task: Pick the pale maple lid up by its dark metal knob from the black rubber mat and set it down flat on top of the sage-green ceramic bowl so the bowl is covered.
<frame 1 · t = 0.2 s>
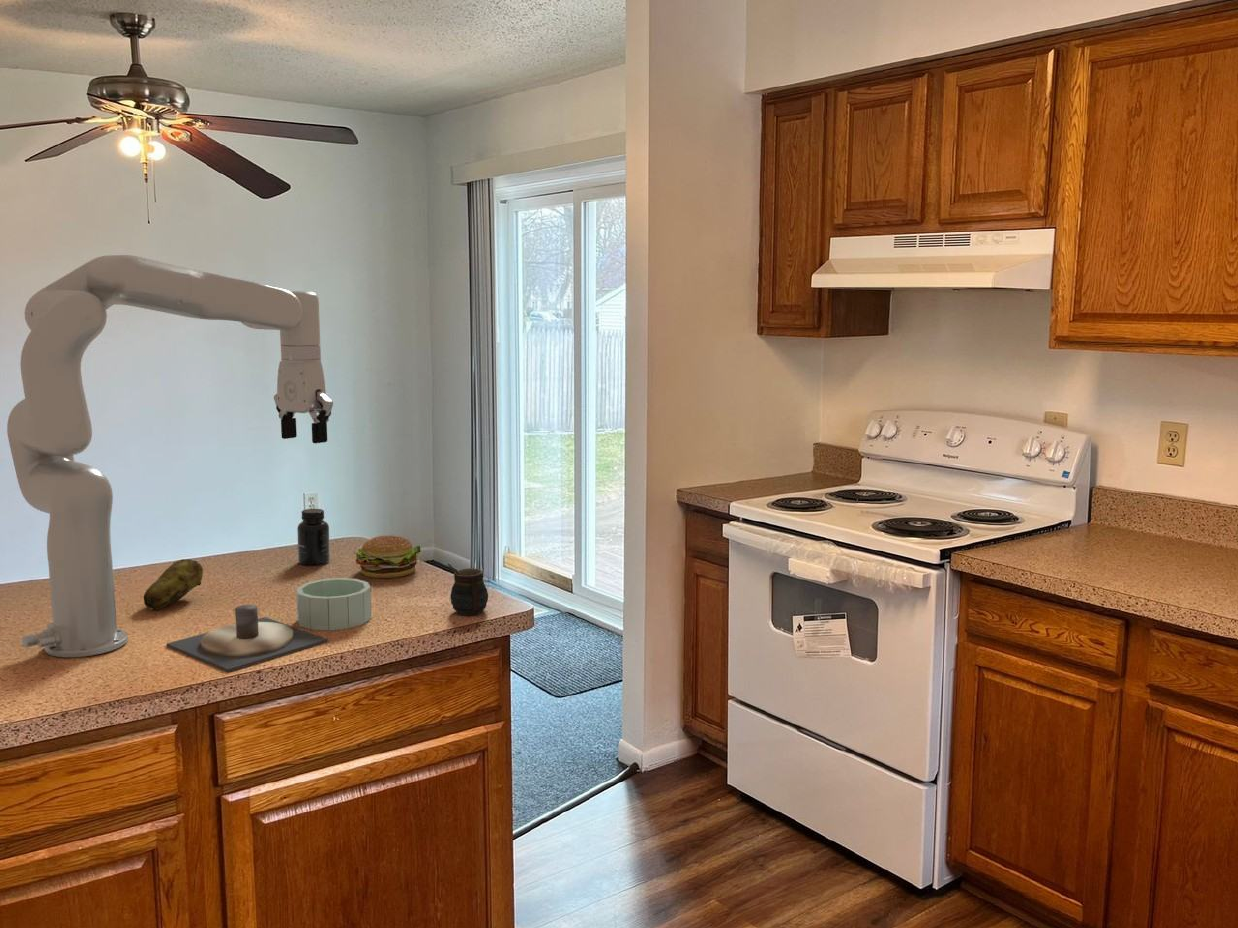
hand: (304, 440, 203), 31 cm above the worktop, tool pointing down, fingers open, 9 cm apart
mat: (248, 643, 176), on the worktop
lid: (247, 624, 175), on the mat
supplement bottle: (314, 563, 229), on the worktop
potato: (173, 604, 198), on the worktop
mate gourd: (468, 613, 195), on the worktop
bowl: (334, 618, 190), on the worktop
food: (387, 573, 222), on the worktop
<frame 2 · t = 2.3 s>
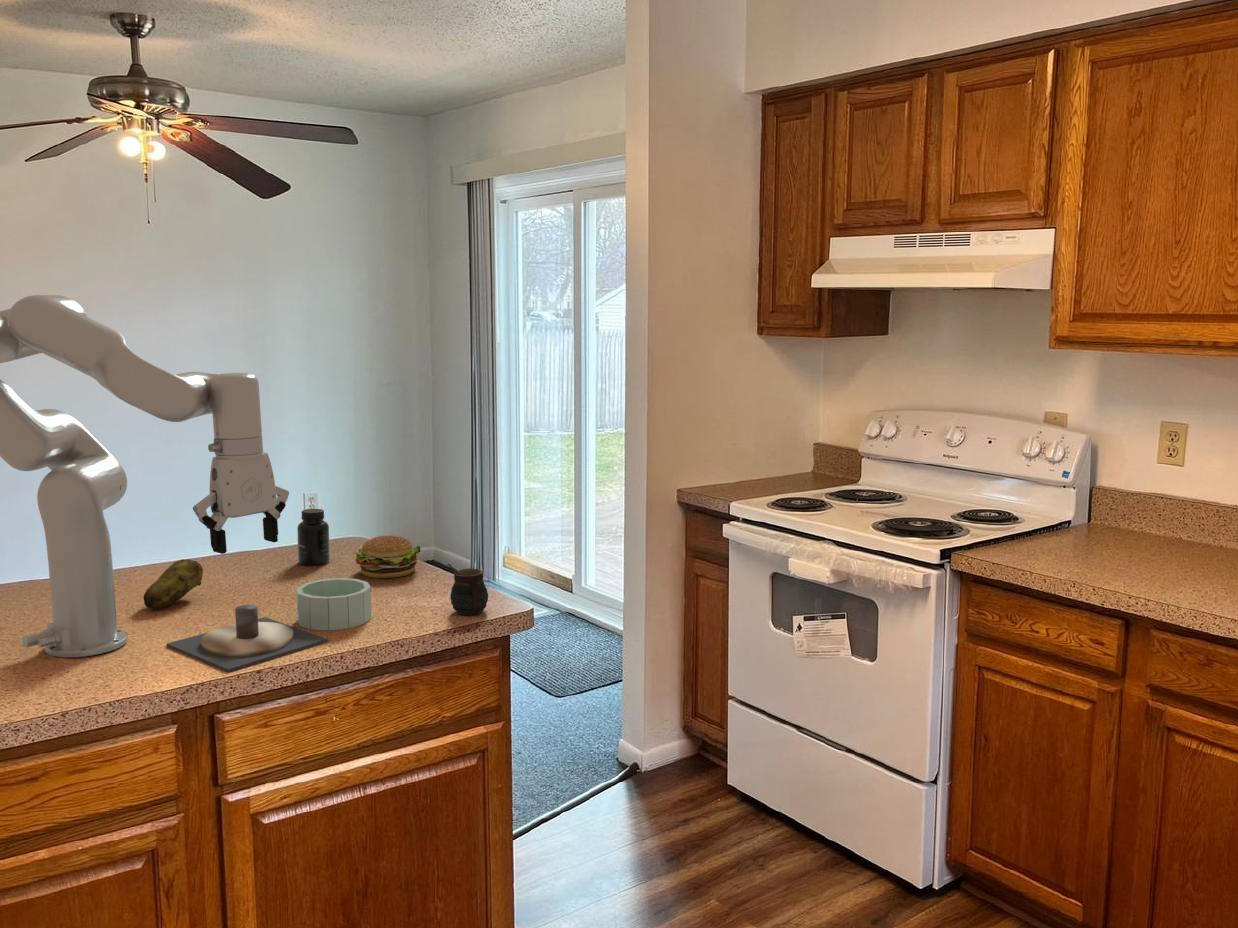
hand: (245, 546, 173), 17 cm above the worktop, tool pointing down, fingers open, 9 cm apart
nothing on the worktop moved.
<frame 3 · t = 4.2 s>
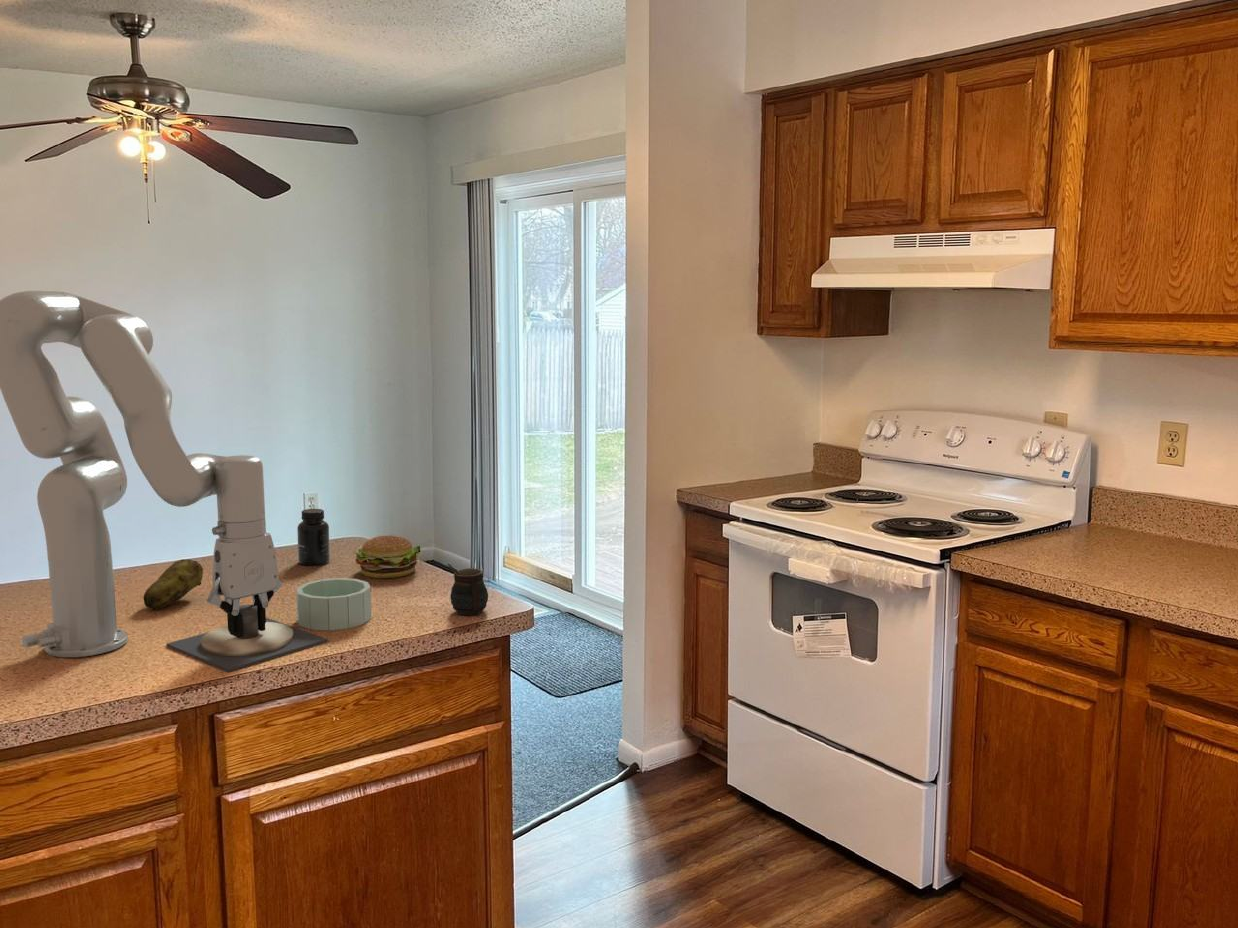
hand: (247, 631, 175), 2 cm above the worktop, tool pointing down, fingers closed on lid, 3 cm apart
lid: (247, 624, 175), on the mat, touching gripper
everything else where it was.
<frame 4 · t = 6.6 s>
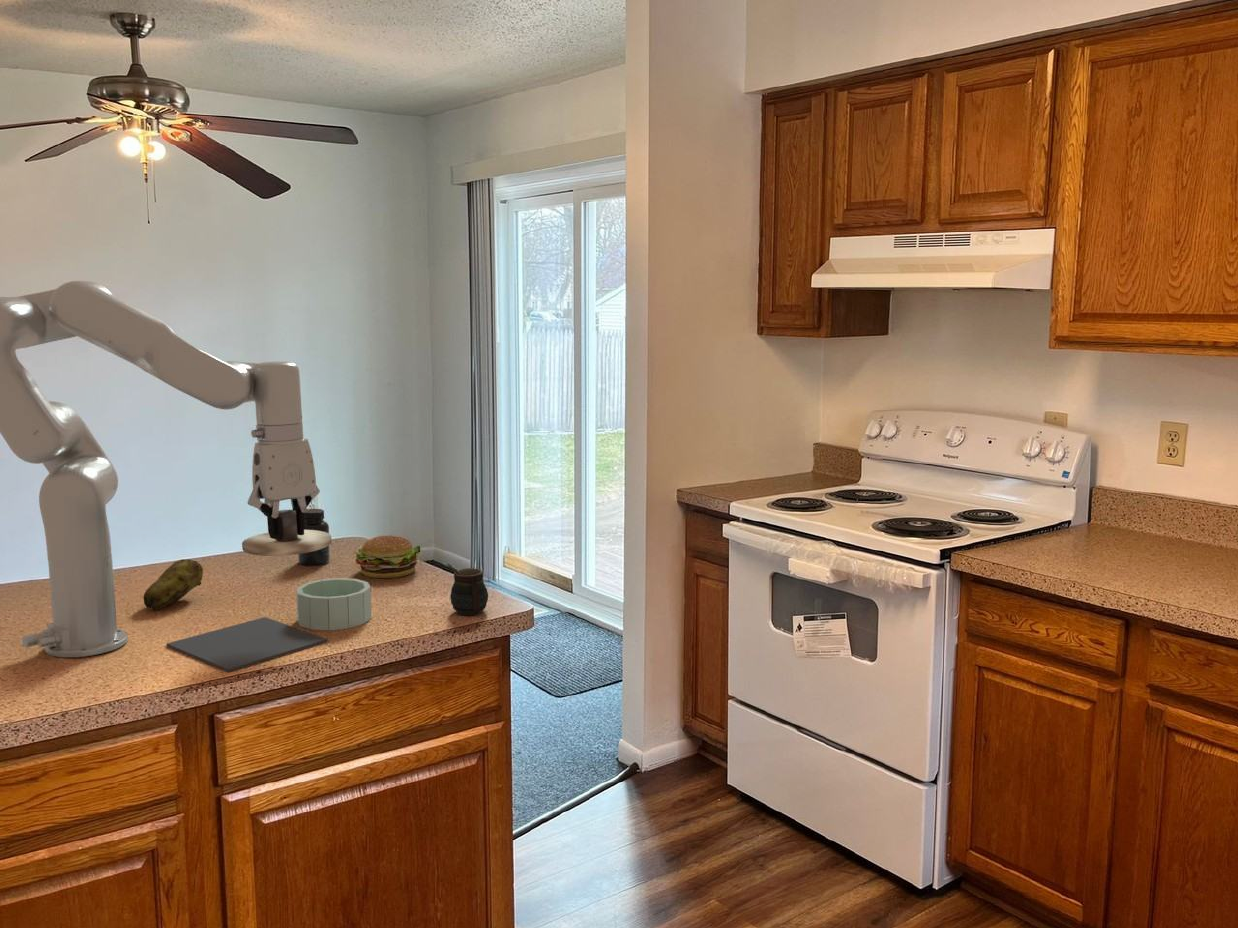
hand: (287, 535, 179), 18 cm above the worktop, tool pointing down, fingers closed on lid, 3 cm apart
lid: (286, 528, 179), point 19 cm above the worktop, touching gripper
everything else where it was.
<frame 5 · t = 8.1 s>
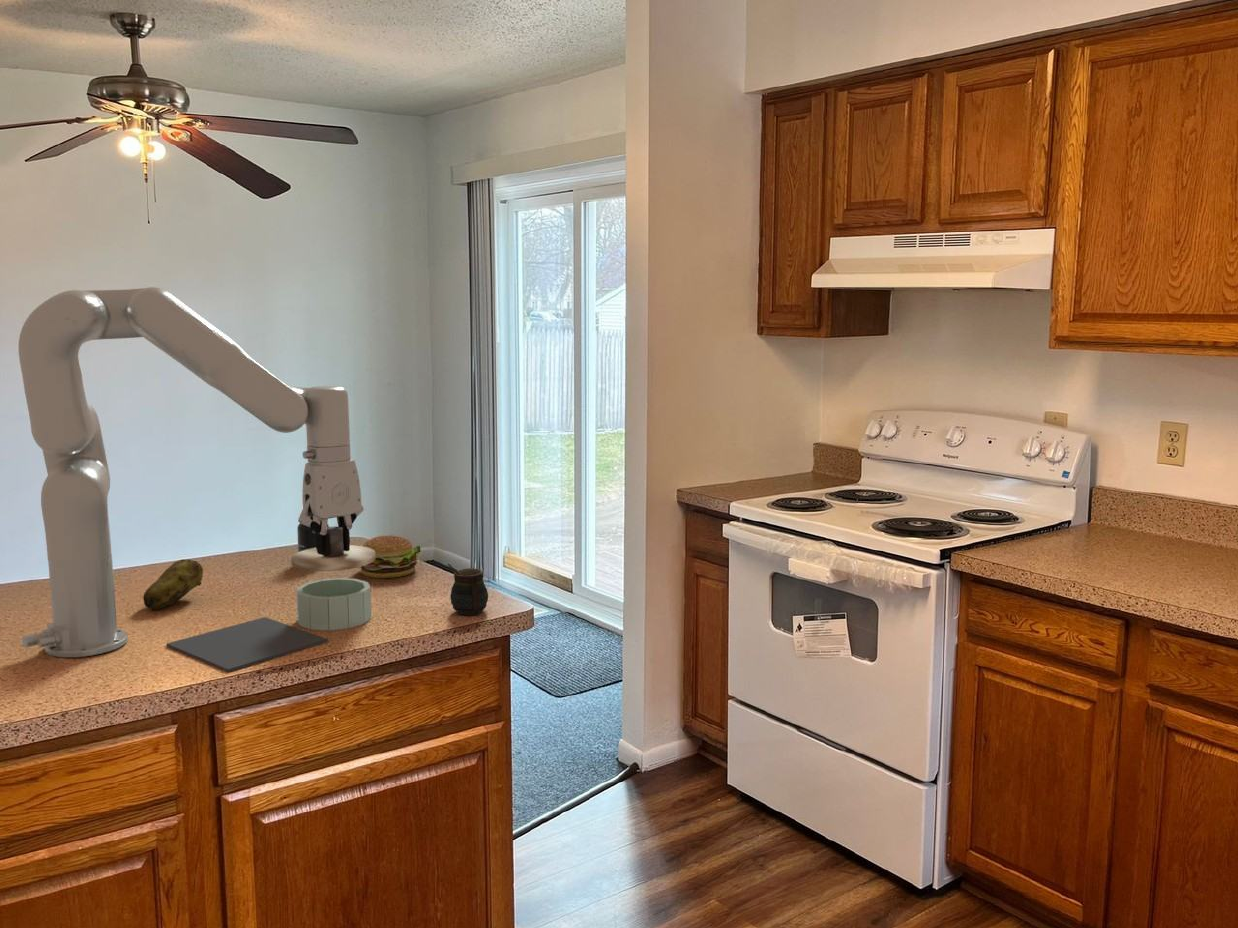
hand: (333, 551, 188), 13 cm above the worktop, tool pointing down, fingers closed on lid, 3 cm apart
lid: (333, 544, 187), point 14 cm above the worktop, touching gripper
everything else where it was.
when the fingers open (9 cm above the worktop, at t = 9.1 s): lid stays where it is, resting on bowl.
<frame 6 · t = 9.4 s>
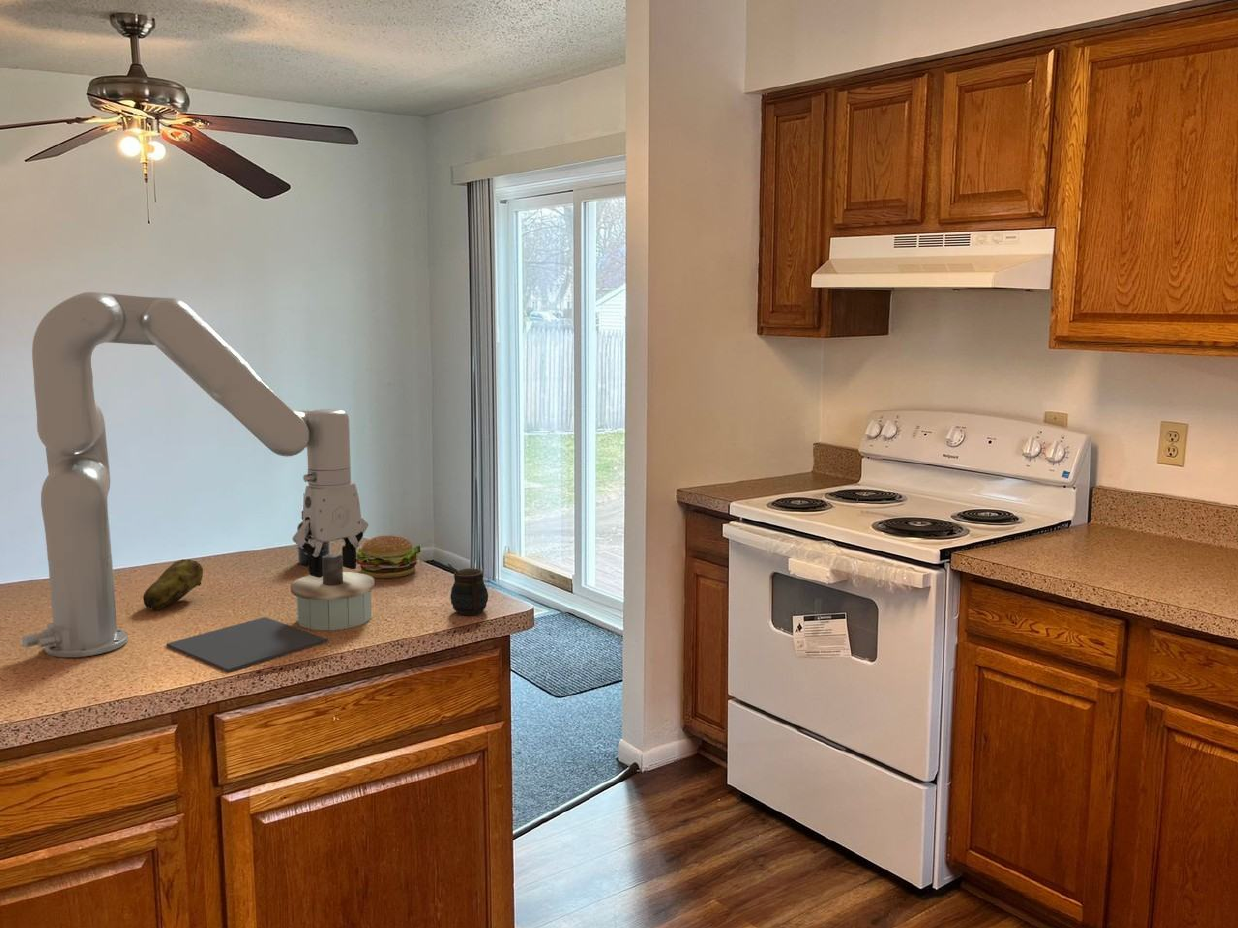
hand: (333, 571, 188), 9 cm above the worktop, tool pointing down, fingers open, 6 cm apart
lid: (332, 572, 188), on the bowl, point 9 cm above the worktop
everything else where it was.
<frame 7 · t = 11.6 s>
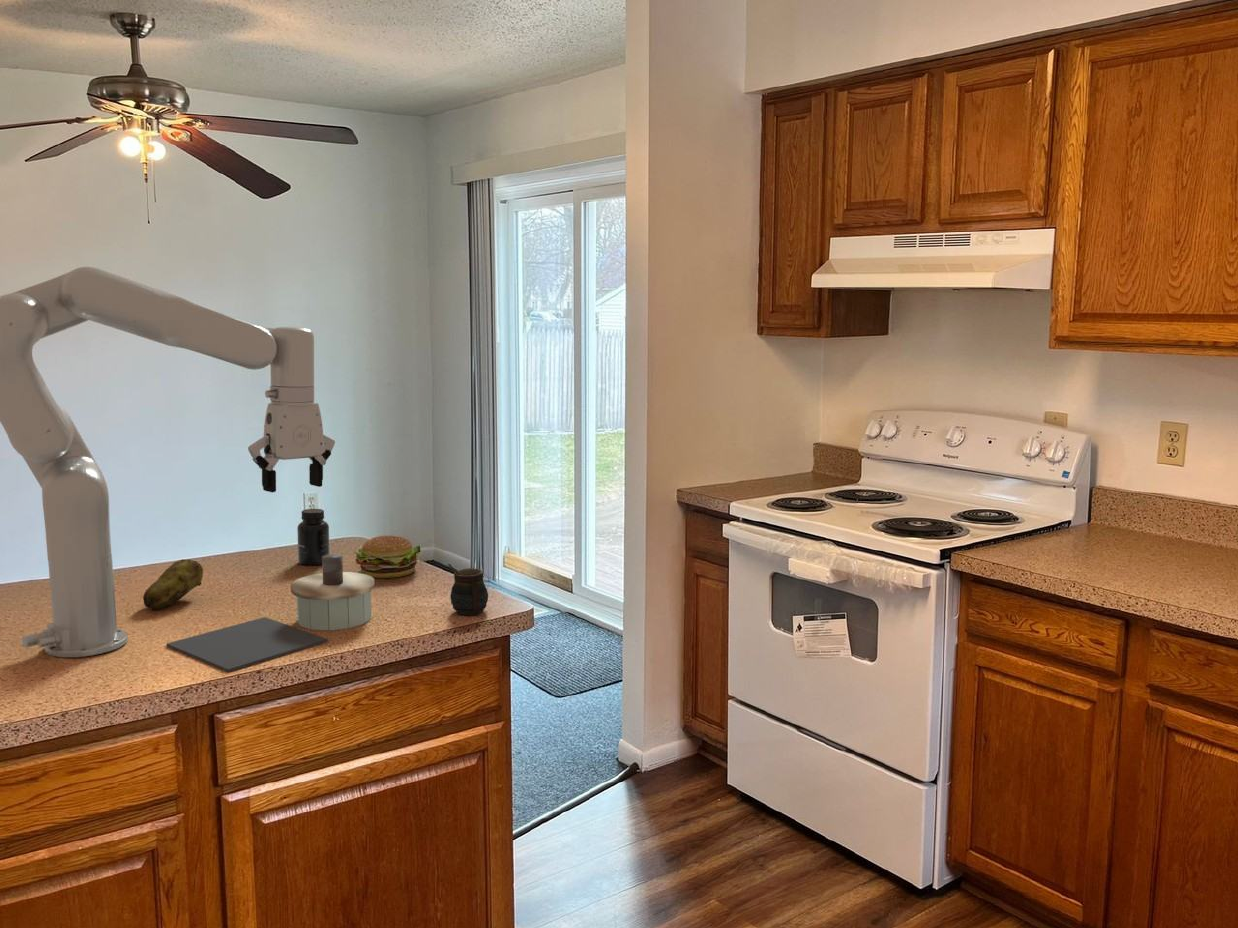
hand: (293, 488, 187), 24 cm above the worktop, tool pointing down, fingers open, 9 cm apart
nothing on the worktop moved.
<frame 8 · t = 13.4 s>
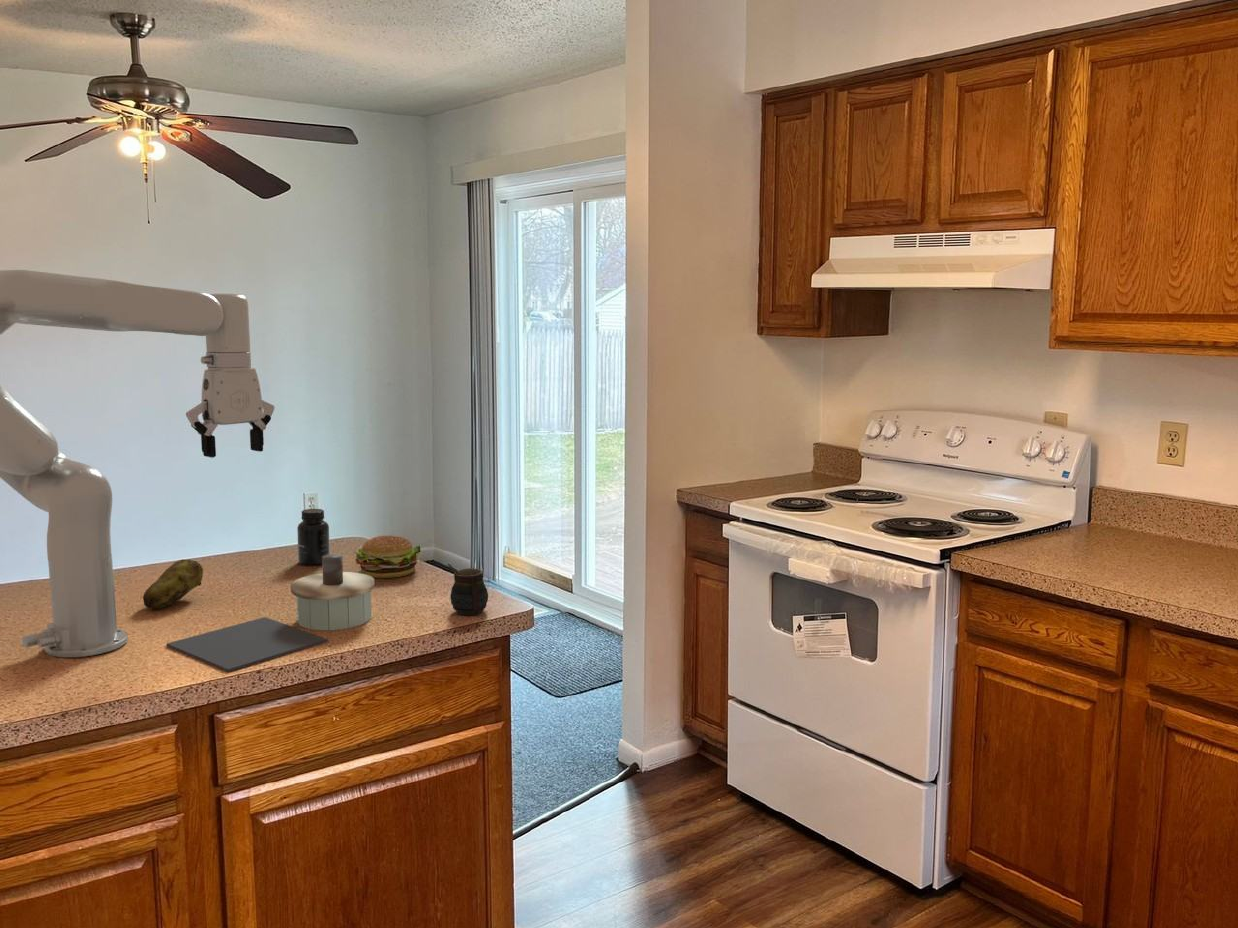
hand: (233, 453, 189), 30 cm above the worktop, tool pointing down, fingers open, 9 cm apart
nothing on the worktop moved.
at the end: lid 0.1 cm off-centre on the bowl, point 9.0 cm above the bowl's base; lid tilted 0°; the gripper is holding nothing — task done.
